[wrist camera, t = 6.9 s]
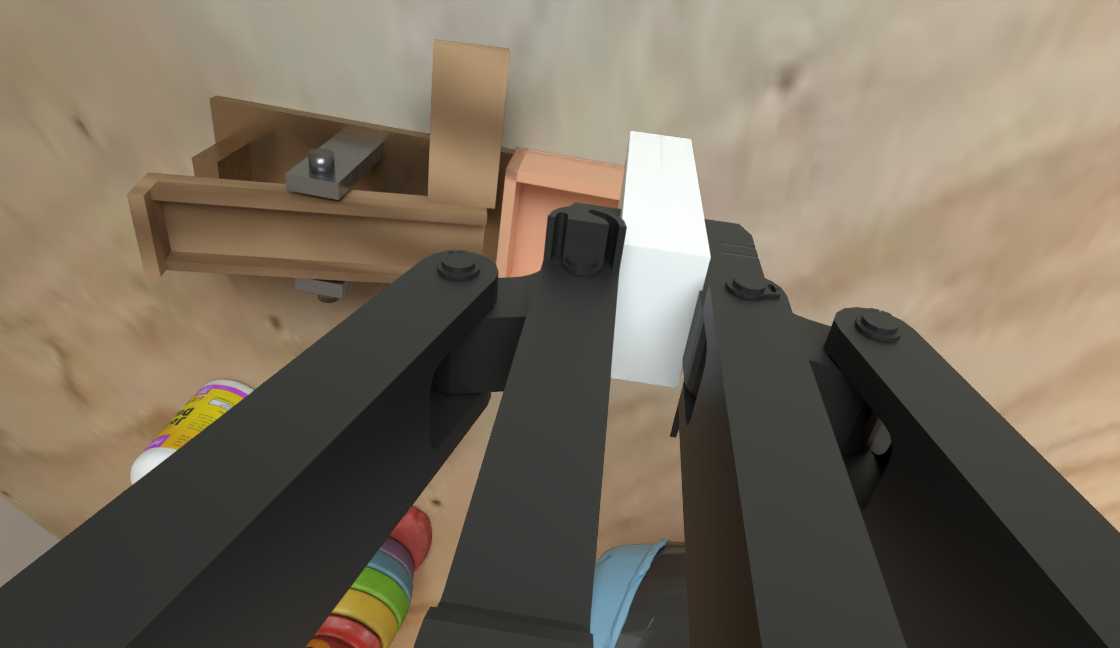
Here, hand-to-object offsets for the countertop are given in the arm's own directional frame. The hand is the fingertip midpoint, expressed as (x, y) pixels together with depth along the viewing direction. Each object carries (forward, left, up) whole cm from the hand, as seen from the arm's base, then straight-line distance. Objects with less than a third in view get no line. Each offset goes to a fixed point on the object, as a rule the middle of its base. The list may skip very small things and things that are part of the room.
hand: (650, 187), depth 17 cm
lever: (-9, +17, -19) cm, 27 cm away
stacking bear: (-50, +16, -26) cm, 59 cm away
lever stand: (-13, +17, -26) cm, 34 cm away
